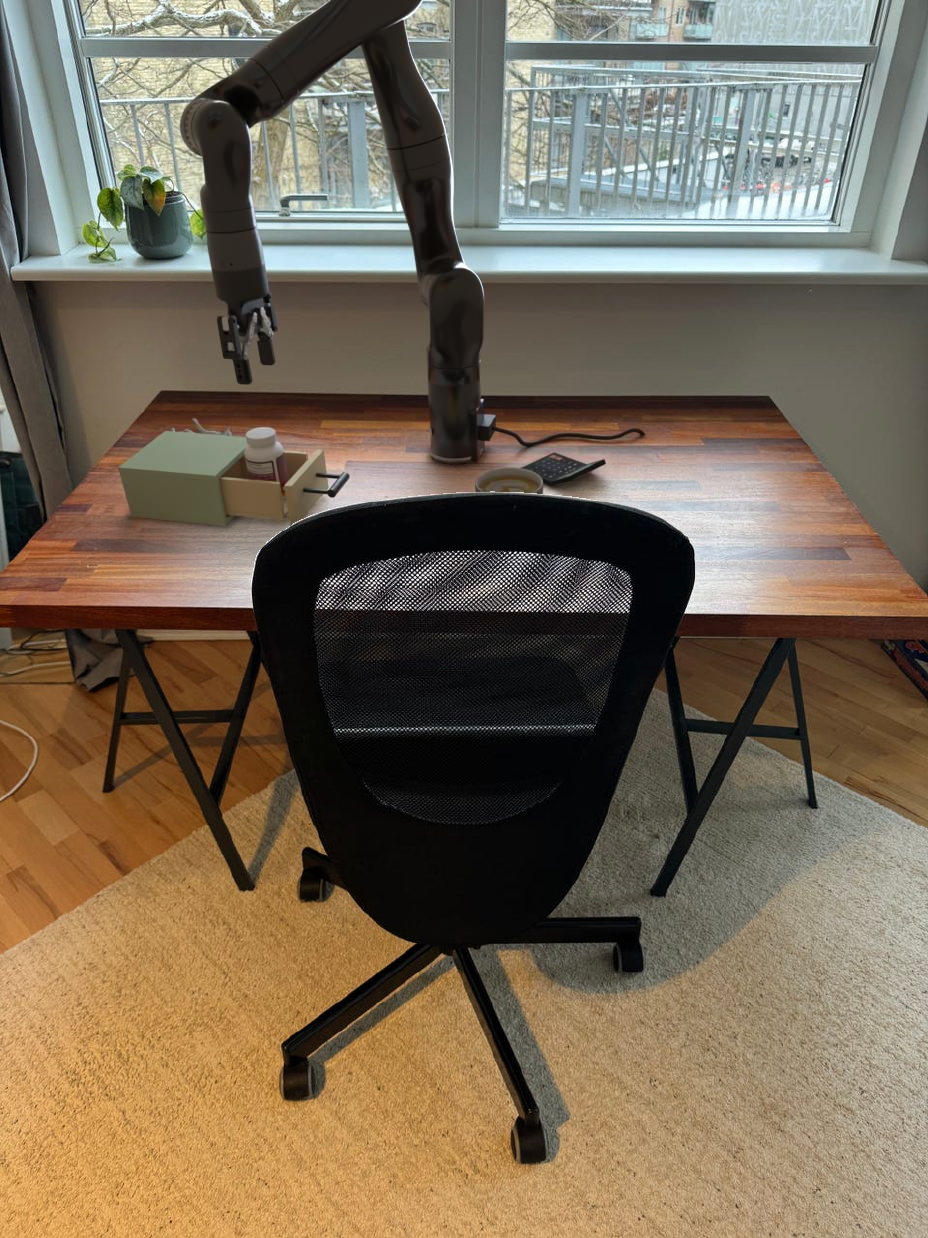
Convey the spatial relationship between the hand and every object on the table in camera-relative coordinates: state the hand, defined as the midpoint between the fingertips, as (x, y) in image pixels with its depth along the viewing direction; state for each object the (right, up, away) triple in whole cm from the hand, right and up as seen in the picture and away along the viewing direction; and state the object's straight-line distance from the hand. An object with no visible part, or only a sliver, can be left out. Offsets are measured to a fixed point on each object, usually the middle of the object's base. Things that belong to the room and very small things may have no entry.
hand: (257, 373), depth 135 cm
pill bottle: (0, -17, +10) cm, 20 cm away
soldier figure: (-18, -5, +33) cm, 38 cm away
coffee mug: (+38, -25, +1) cm, 45 cm away
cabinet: (-13, -17, +14) cm, 26 cm away
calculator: (+48, -13, +18) cm, 53 cm away
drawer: (+2, -18, +10) cm, 21 cm away
